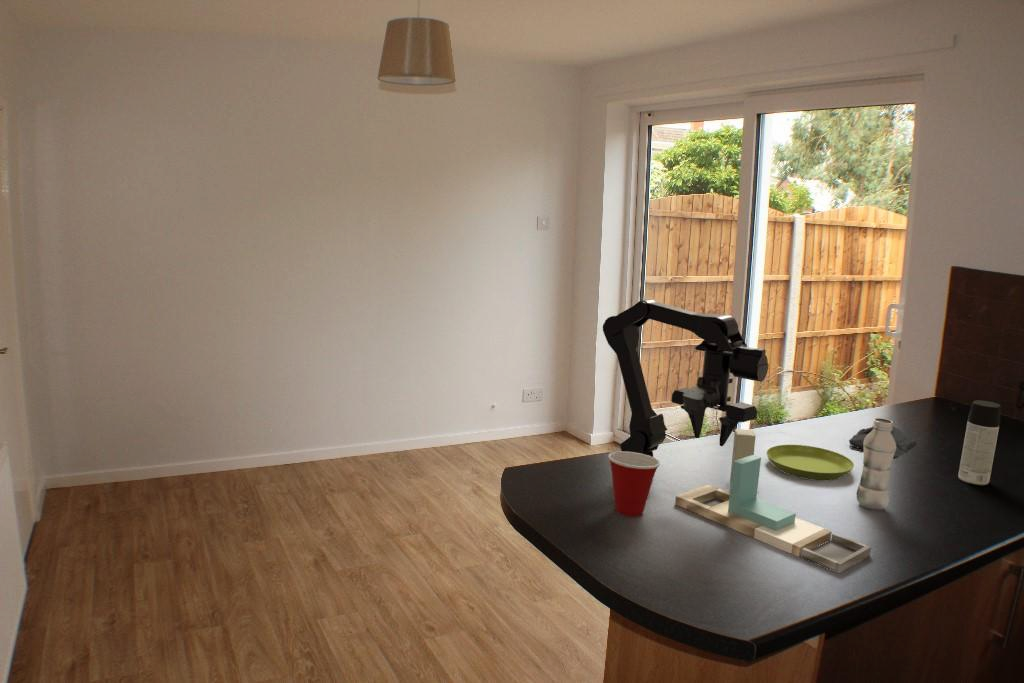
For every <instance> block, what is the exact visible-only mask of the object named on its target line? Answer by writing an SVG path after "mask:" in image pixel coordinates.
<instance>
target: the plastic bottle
mask: <svg viewBox="0 0 1024 683" xmlns="http://www.w3.org/2000/svg"><path fill="white" fill-rule="evenodd" d="M892 426H893V420H890V419H886V418H880V417H876V418H874V420H873V424H872V426H871V427H873V428H874V429H873V430H872V431H871V432H870V433H869V434H868V435H867V436H866V437H865V439H864V443H863V445H864V446H863V448H864V449H863V462H862V463H863V466H862V472H861V476H860V480H859V484H858V486H857V490H856V501H857V503H858V504H859V505H861V506H862V507H865V508H867V509H871V510H876V511H877V510H880V511H881V510H884V509H886V508H887V507H888V505H889V503H890V502H889V501H890V488H889V487H890V473H891V468H892V464H893V460H894V458H893V457H894V454H895V451H896V442H895V440H894V438H893V436H892V435H891V433H890V431H892Z"/></svg>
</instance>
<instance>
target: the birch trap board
mask: <svg viewBox="0 0 1024 683" xmlns="http://www.w3.org/2000/svg"><path fill="white" fill-rule="evenodd" d="M729 497H730V491H727V490H726V489H723V488H719V487H717V486H714V485H712V484H706V485H704V486H700V487H697V488H695V489H692V490H690V491H686V492H683V493H680V494H678V495H675V502H674V504H676V505H675V506H677V505H678V507H680V506H681V508H682V507H683V508H682V509H684V508H685V510H687V509H688V510H687V511H689V510H690V511H689V512H692V513H694V512H695V513H694V514H696V513H697V514H696V515H699V516H701V517H703V516H704V518H706V519H708V520H710V519H711V520H710V521H713V522H716V523H718V524H720V525H723V526H725V527H728V528H729V529H732V530H734V531H737V532H739V533H742V534H744V535H746V536H749V537H750V538H753V539H755V538H754V535H755V529H756V528H758V527H760V526H762V525H760V524H757V523H755V522H753V521H750V520H748V519H745V518H743V517H740V516H738V515H735V514H733V513H730V512H728V506H729ZM829 540H831V541H829ZM827 541H829V542H827ZM825 542H827V543H825ZM823 543H825V544H823ZM821 544H823V545H821ZM819 545H821V546H819ZM818 546H819V547H818ZM816 547H817V548H816ZM814 548H815V549H814ZM812 549H813V550H812ZM871 551H872V547H871V546H869V545H867V544H864V543H863V542H862V543H861V542H859V541H856V540H853V539H851V538H848V537H846V536H843V535H840V534H838V533H836V532H834V533H832V531H831V530H829V529H826V528H824V529H823V530H821V531H819V532H817V533H815V534H813V535H811V536H809V537H807V538H805V539H803V540H801V541H798V542H796V543H794V544H793V545H792V554H791V555H793V554H794V556H796V557H798V556H799V557H800V558H801V559H803V558H804V559H803V560H805V559H806V560H805V561H807V560H809V561H808V562H810V561H811V562H810V563H812V562H813V563H812V564H815V563H816V564H815V565H817V564H819V565H821V566H820V567H822V566H823V567H822V568H824V567H825V569H826V568H828V569H827V570H829V569H831V570H833V571H832V572H834V571H835V572H834V573H836V572H838V573H839V574H841V573H843V572H844V571H843V570H845V569H846V570H848V569H849V567H850V566H851V567H853V566H854V564H855V563H857V562H858V563H860V562H862V561H863V559H864V560H865V559H867V558H869V557H870V556H871ZM868 556H869V557H868ZM861 560H862V561H861ZM859 561H860V562H859ZM858 563H857V564H858ZM819 565H818V566H819ZM852 565H853V566H852ZM855 565H856V564H855ZM851 567H850V568H851ZM847 568H848V569H847ZM831 570H830V571H831ZM846 570H845V571H846ZM842 571H843V572H842ZM840 572H841V573H840ZM838 573H837V574H838Z"/></svg>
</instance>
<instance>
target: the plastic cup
mask: <svg viewBox="0 0 1024 683" xmlns="http://www.w3.org/2000/svg"><path fill="white" fill-rule="evenodd" d="M608 459H609V463H610V468H611V469H610V470H611V478H612V479H611V480H612V490H613V497H614V498H613V499H614V508H615V511H616V513H617V514H619V515H621V516H625V517H630V518H633V517H640V516H641V515H643V513H644V511H645V508H646V503H647V500H648V497H649V494H650V491H651V486H652V483H653V479H654V477H655V474H656V472H657V469H658V468H659V467H660V465H661V461H660V460H659V459H657V457H655V456H653V457H651V456H649V455H645V454H641V453H635V452H624V451H621V450H620V451H613V452H611V453H608Z"/></svg>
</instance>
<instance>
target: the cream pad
mask: <svg viewBox="0 0 1024 683" xmlns="http://www.w3.org/2000/svg"><path fill="white" fill-rule="evenodd" d="M823 529H825V527H821V526H819V525H816V524H813V523H811V522H808V521H805V520H803V519H800V518H798V517H795V523H792V524H790V525H788V526H786V527H783V528H781V529H779V530H777V531H775V530H772V529H770V528H767V527H765V526H760V527H758V528H756V529H755V535H754V538H753V539H755V540H758V541H760V542H762V543H765V544H768V545H769V546H772V547H775V548H777V549H779V550H782V551H784V552H786V553H789V554H791V553H792V545H793V544H794V543H796V542H798V541H801V540H803V539H805V538H807V537H809V536H811V535H813V534H815V533H817V532H819V531H821V530H823Z"/></svg>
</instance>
